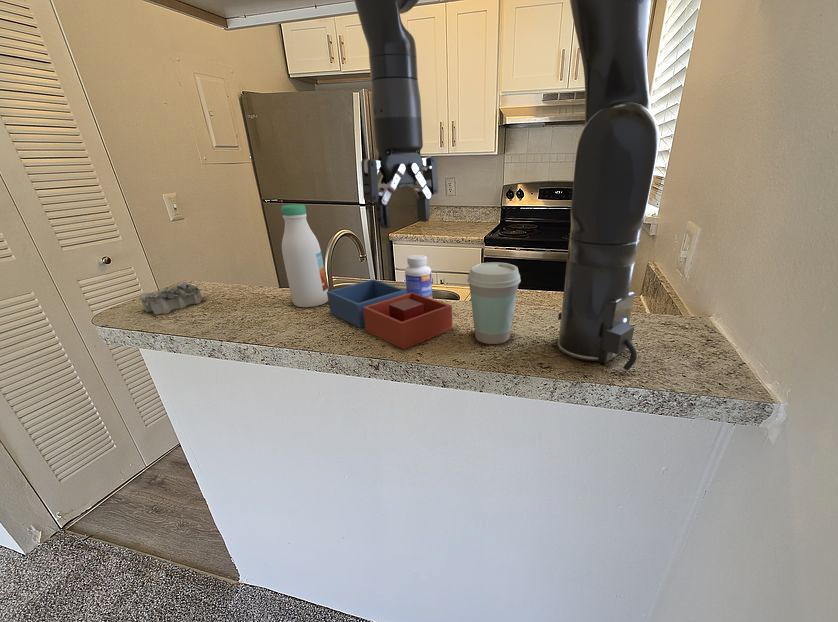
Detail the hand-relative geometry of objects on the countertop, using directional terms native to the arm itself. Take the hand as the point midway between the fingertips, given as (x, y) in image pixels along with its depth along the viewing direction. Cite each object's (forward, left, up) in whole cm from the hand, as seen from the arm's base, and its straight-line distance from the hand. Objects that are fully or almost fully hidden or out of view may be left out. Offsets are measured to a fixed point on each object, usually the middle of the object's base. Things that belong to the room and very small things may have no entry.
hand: (405, 224), depth 70 cm
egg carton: (+45, +31, -18) cm, 57 cm away
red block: (-4, +4, -17) cm, 18 cm away
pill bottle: (+6, -7, -18) cm, 20 cm away
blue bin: (+9, +4, -18) cm, 20 cm away
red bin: (-4, +4, -18) cm, 19 cm away
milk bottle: (+24, +9, -18) cm, 31 cm away
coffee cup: (-17, -4, -18) cm, 25 cm away
